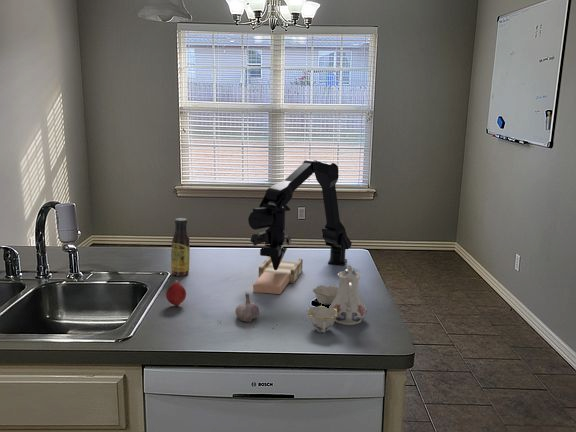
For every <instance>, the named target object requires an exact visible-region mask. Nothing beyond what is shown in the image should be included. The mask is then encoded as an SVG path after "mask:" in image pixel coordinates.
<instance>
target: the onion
mask: <svg viewBox="0 0 576 432" xmlns="http://www.w3.org/2000/svg"><path fill="white" fill-rule="evenodd" d="M165 298H166V300H167V301H168V303H170V304H171V305H173V306H175V307H179V306H180V305H181V304H182V303H183V302H184V301H185V300H186V298H187V291H186V288H185V287H184V286H183V285H182V284H180V283H179V280H175V281H174V282H172V283H171V284H170V285H169V287H168V288H167V290H166V292H165Z"/></svg>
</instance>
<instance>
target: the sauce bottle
mask: <svg viewBox="0 0 576 432" xmlns="http://www.w3.org/2000/svg"><path fill="white" fill-rule="evenodd" d="M187 223H188V219H187V218H184V217H179V218H178V217H177V218H175V219H174V224H175V229H174V230H175V231H174V235H173V237H172V240H171V249H170V250H171V254H170V255H171V258H170V259H171V263H170V264H171V265H170V267H171V268H170V269H171V274H172V275H173V276H175V275H176V276H175V277H177V276H178V277H184V276H187V275H188V274H189V272H190V254H191V253H190V248H191V247H190V236H189V234H188V233H187V231H188V230H187Z"/></svg>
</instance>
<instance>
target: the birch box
mask: <svg viewBox="0 0 576 432" xmlns="http://www.w3.org/2000/svg"><path fill="white" fill-rule="evenodd" d="M303 261H304V259H303V258H298V260H297V261H286V260H282V261H281V263H280V265H279V267H278V269H277V270H274V268H273V264H272V261H271V257H270V256H267V258H266V259H265V260H264V261H263V262H262V263H261V264H260V265H259V266H258V278H259V277H260V276H261V275H262V274H263V273H264V272H271V273H285V274H289V275H290V281H289V282H288V284H294V283H295V282H296V281H297V279H298V278H299V276H300V274H301V273H302V272H303Z"/></svg>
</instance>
